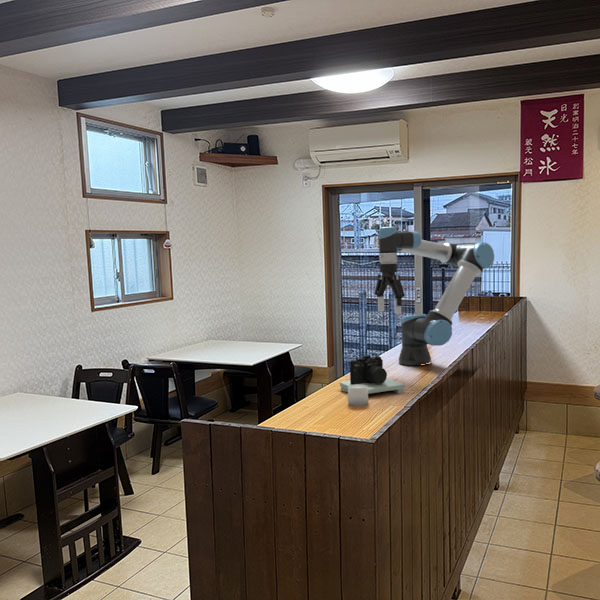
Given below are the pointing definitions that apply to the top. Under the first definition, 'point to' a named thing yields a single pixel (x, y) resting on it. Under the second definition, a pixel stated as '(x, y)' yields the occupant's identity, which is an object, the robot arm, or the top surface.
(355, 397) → the grey rounded block
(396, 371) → the top surface
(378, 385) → the stand
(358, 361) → the camera
